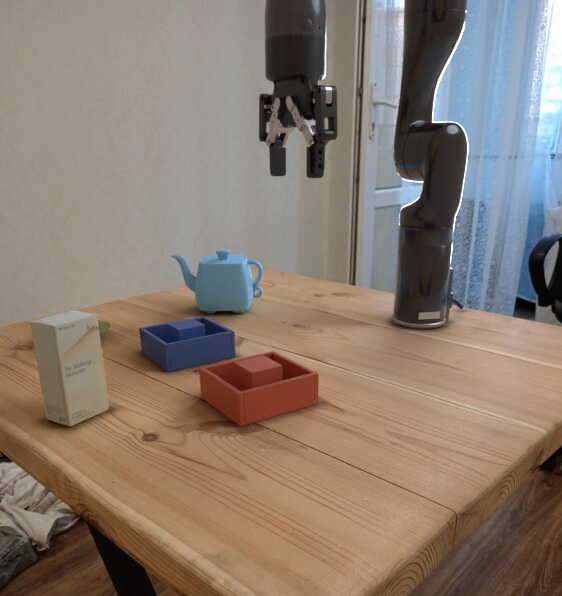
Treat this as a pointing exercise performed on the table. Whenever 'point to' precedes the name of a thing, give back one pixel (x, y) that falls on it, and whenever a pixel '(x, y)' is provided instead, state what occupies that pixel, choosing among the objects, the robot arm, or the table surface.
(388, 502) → the table surface
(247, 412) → the red bin
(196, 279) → the teapot
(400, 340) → the table surface
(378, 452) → the table surface
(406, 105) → the robot arm
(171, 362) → the blue bin
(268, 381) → the red block
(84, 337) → the cosmetic box
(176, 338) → the blue block
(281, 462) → the table surface
